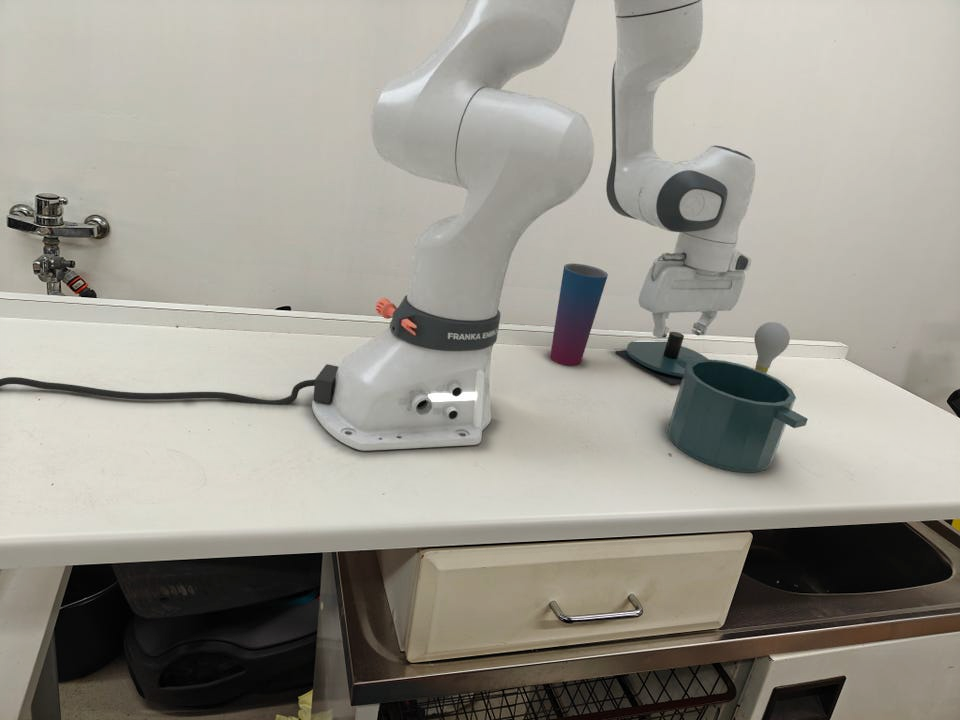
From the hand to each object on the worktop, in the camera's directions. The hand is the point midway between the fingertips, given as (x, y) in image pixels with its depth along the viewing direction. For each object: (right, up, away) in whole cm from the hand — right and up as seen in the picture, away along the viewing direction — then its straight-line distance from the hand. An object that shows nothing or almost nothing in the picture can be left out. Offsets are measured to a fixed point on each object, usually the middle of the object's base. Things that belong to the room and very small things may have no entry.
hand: (678, 335), depth 119 cm
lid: (-1, -4, +3) cm, 5 cm away
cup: (-19, -4, -3) cm, 20 cm away
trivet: (-1, -5, +3) cm, 6 cm away
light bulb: (+15, -7, +5) cm, 17 cm away
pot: (-1, -15, -23) cm, 27 cm away
